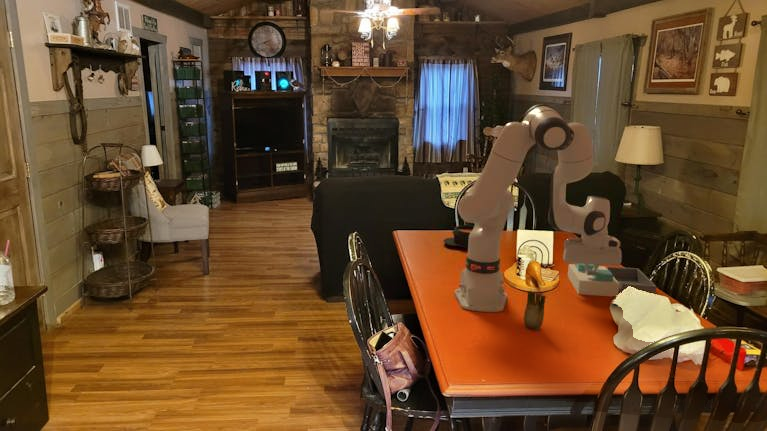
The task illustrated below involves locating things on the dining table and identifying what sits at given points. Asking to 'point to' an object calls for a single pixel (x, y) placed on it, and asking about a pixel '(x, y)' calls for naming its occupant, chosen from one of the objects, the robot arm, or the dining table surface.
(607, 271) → the tile
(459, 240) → the black brimmed hat
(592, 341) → the dining table surface
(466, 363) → the dining table surface
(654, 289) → the bin
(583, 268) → the tile
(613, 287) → the plate
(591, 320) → the dining table surface
